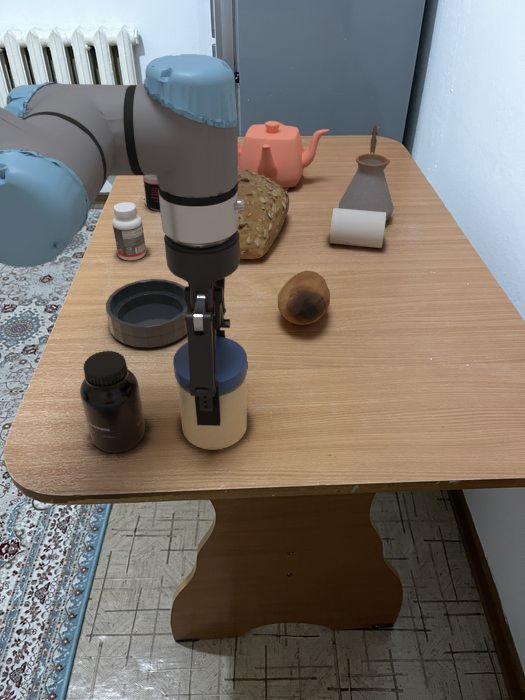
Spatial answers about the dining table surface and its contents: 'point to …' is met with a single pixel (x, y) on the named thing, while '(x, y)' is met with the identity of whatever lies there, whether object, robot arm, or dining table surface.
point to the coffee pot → (369, 183)
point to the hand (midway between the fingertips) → (212, 395)
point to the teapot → (277, 152)
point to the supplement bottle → (112, 402)
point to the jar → (230, 413)
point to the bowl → (148, 313)
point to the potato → (304, 298)
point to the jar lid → (227, 364)
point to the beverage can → (151, 192)
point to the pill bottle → (128, 232)
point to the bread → (259, 213)
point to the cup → (357, 227)
